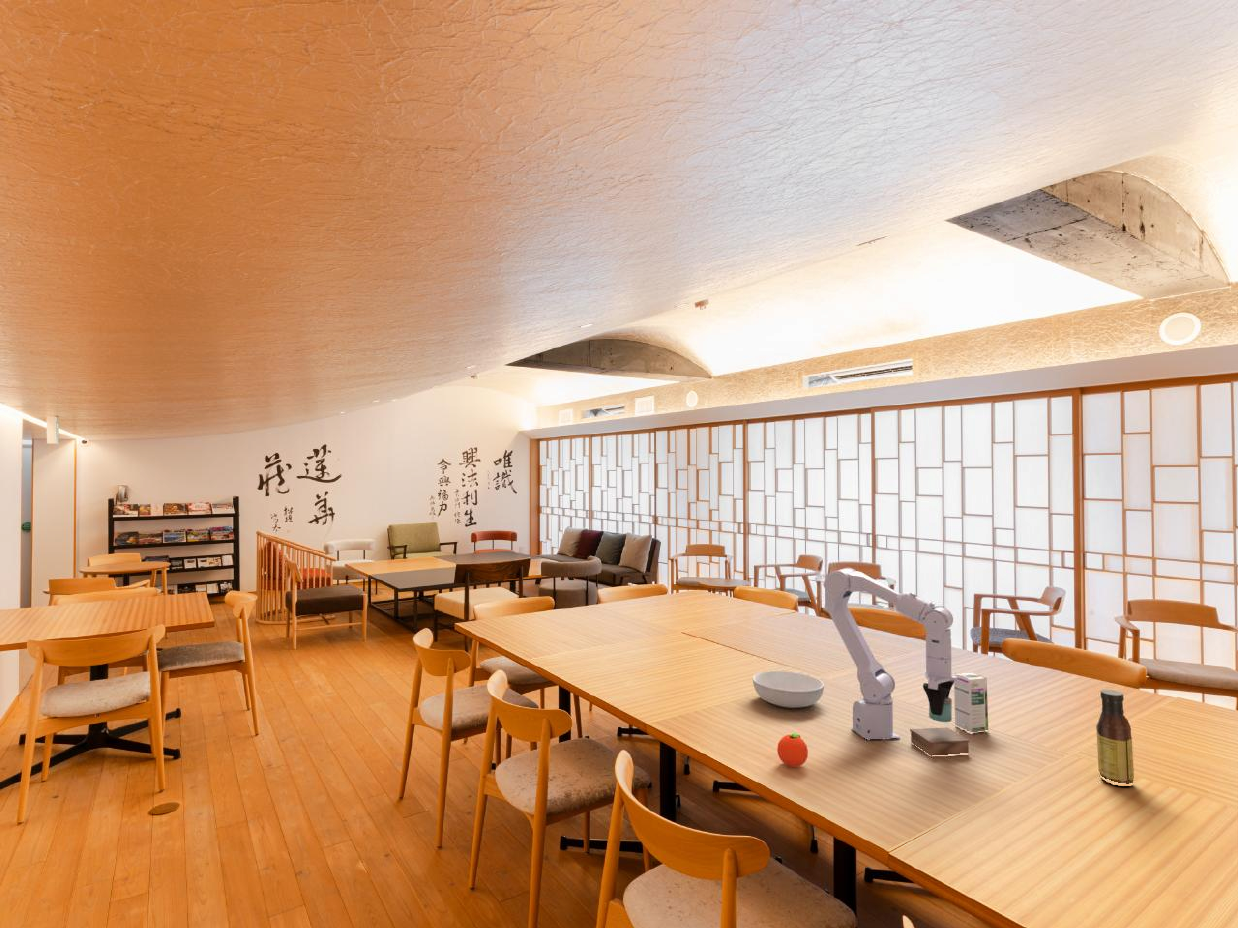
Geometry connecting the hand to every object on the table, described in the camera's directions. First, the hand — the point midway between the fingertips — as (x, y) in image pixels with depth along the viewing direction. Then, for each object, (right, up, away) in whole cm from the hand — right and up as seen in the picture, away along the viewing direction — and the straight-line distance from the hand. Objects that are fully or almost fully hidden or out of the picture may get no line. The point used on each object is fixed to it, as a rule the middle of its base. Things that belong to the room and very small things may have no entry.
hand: (939, 711), depth 158 cm
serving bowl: (-29, -11, +33) cm, 45 cm away
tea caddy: (0, -2, 0) cm, 2 cm away
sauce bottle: (+31, -9, -17) cm, 36 cm away
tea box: (0, -10, 0) cm, 10 cm away
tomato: (-39, -9, -10) cm, 41 cm away
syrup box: (+15, -10, +13) cm, 22 cm away
